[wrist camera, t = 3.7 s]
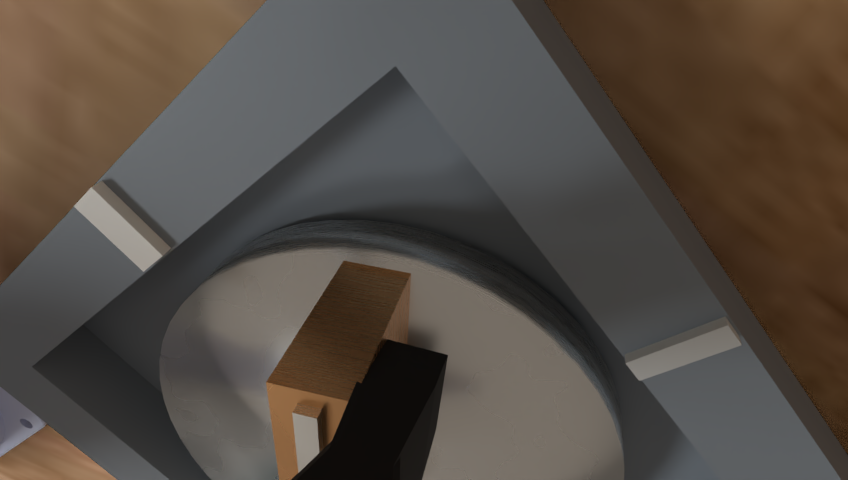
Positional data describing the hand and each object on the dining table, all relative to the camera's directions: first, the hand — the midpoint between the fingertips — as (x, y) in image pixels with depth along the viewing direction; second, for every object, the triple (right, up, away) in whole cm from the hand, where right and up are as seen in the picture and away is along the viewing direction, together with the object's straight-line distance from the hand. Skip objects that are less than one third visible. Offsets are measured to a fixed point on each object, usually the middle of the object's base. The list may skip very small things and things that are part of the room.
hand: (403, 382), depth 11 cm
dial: (0, -2, +6) cm, 6 cm away
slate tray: (0, -2, +6) cm, 6 cm away
